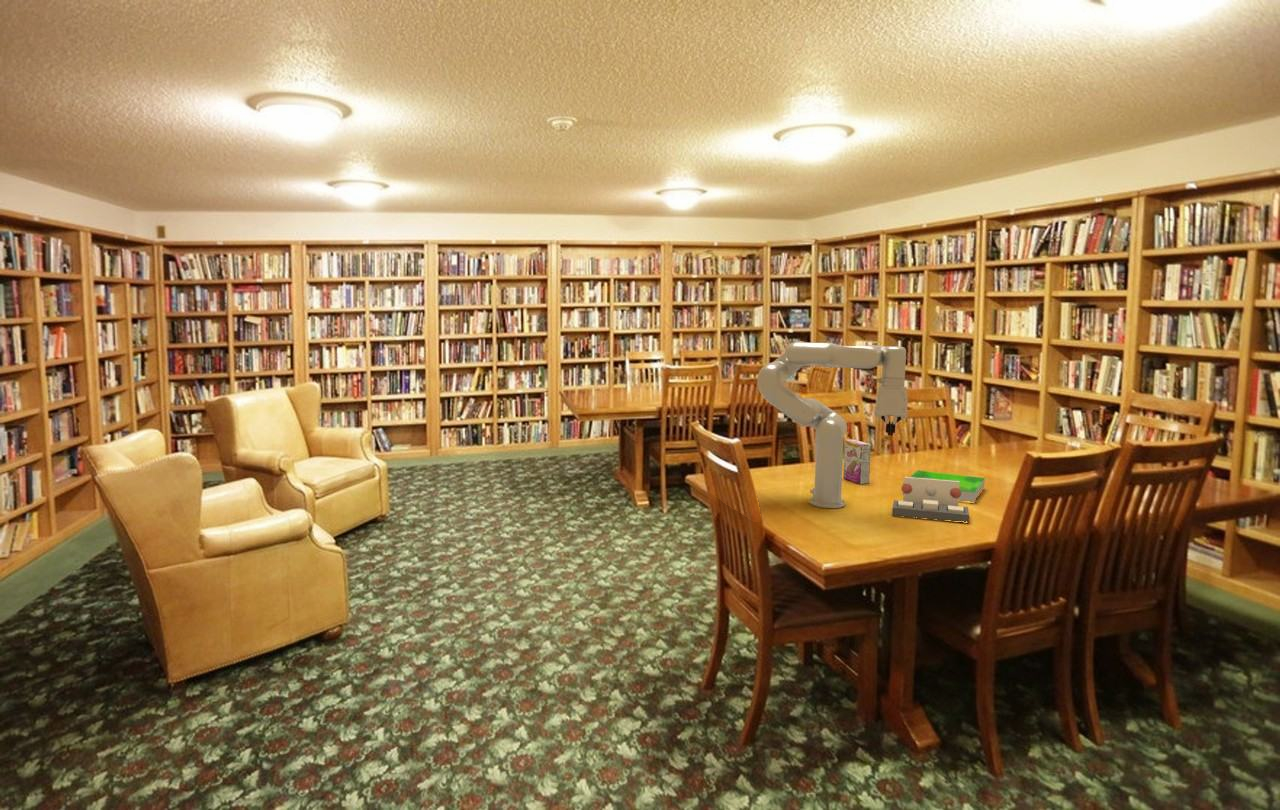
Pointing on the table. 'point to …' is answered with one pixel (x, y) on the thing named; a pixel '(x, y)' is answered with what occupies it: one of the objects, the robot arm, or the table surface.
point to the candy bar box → (857, 461)
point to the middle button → (930, 504)
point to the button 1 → (905, 504)
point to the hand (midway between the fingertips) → (890, 434)
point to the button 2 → (955, 509)
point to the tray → (967, 483)
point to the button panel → (930, 490)
